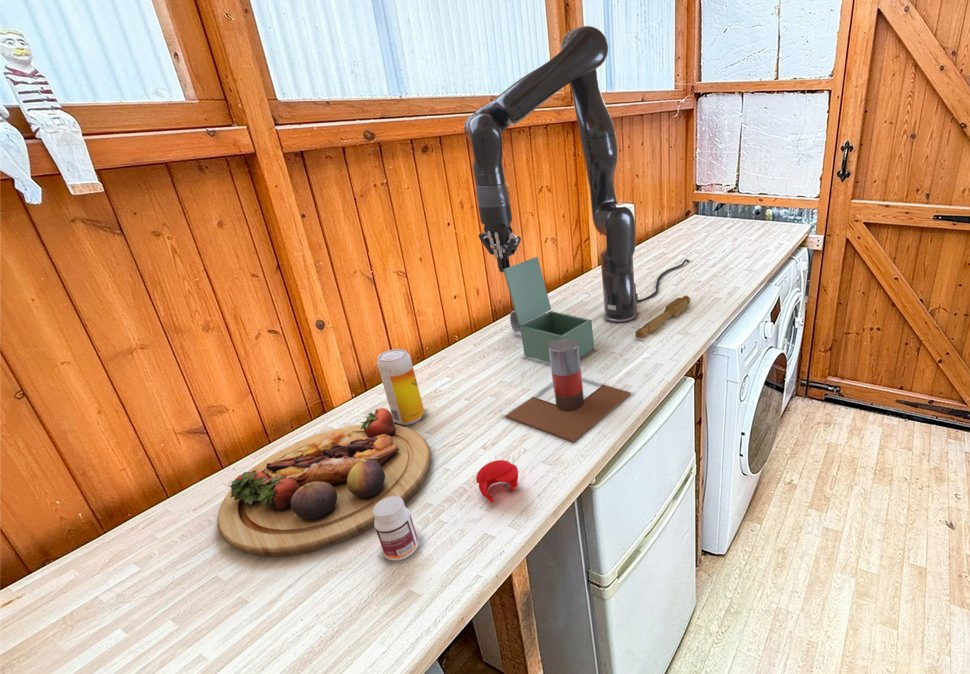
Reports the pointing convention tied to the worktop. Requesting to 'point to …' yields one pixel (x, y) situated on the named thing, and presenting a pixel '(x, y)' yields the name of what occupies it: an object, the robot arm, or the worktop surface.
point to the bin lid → (527, 290)
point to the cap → (496, 476)
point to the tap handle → (664, 316)
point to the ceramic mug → (515, 322)
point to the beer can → (400, 386)
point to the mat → (568, 413)
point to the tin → (566, 374)
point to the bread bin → (555, 334)
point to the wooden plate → (323, 487)
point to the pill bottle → (395, 528)
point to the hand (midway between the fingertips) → (504, 271)
